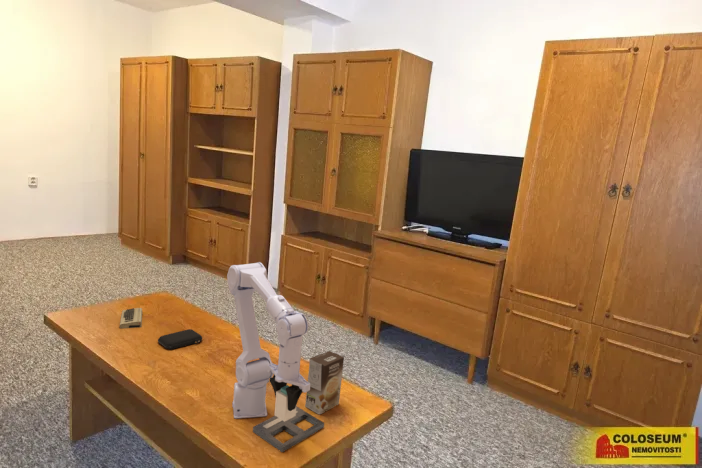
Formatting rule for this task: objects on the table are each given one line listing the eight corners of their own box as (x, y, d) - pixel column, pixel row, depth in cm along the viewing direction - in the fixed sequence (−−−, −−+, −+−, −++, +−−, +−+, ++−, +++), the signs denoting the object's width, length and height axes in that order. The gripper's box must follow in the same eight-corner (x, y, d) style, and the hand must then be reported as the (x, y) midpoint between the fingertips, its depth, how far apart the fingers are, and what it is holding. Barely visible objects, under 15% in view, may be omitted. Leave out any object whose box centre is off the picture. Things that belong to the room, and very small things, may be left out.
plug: (284, 421, 122) (286, 394, 121) (274, 415, 125) (276, 387, 123) (295, 415, 125) (297, 388, 124) (285, 409, 128) (287, 382, 126)
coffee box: (319, 415, 139) (324, 366, 136) (304, 406, 143) (308, 358, 140) (339, 404, 146) (344, 357, 143) (324, 396, 150) (329, 349, 147)
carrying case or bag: (169, 353, 168) (205, 343, 179) (169, 345, 168) (206, 336, 178) (155, 343, 175) (191, 334, 186) (155, 335, 175) (192, 327, 185)
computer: (121, 315, 198) (121, 307, 197) (142, 314, 201) (142, 306, 200) (119, 329, 184) (119, 321, 183) (141, 328, 187) (141, 320, 186)
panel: (282, 452, 121) (282, 446, 120) (252, 431, 128) (253, 426, 128) (323, 427, 133) (324, 422, 133) (294, 409, 140) (295, 404, 140)
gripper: (259, 353, 123) (256, 399, 126) (298, 374, 114) (293, 423, 117) (279, 346, 129) (276, 390, 131) (317, 365, 120) (313, 412, 122)
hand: (285, 405), depth 124 cm, fingers closed on plug, 4 cm apart
